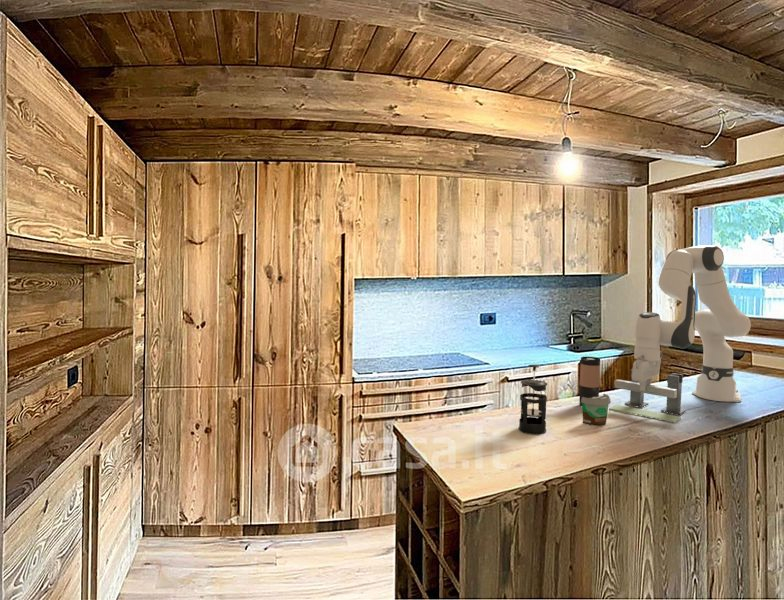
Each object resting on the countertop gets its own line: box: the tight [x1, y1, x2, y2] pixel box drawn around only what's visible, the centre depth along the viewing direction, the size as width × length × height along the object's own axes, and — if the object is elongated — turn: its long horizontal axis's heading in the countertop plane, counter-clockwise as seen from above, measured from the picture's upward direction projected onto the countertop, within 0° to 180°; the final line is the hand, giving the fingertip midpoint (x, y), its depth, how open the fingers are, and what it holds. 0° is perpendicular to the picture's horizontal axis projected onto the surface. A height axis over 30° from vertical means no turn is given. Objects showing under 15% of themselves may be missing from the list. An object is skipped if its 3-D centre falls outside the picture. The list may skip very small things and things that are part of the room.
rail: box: [614, 379, 677, 398], centre depth 202 cm, size 3×22×3 cm, turn 45°
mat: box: [608, 404, 682, 424], centre depth 202 cm, size 8×24×1 cm, turn 45°
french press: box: [518, 364, 548, 435], centre depth 180 cm, size 12×9×23 cm
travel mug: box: [578, 356, 601, 407], centre depth 212 cm, size 8×8×20 cm
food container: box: [581, 393, 612, 427], centre depth 188 cm, size 12×6×10 cm, turn 117°
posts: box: [624, 368, 687, 416], centre depth 210 cm, size 7×21×15 cm, turn 45°
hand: (645, 389), depth 202 cm, fingers closed on rail, 3 cm apart
